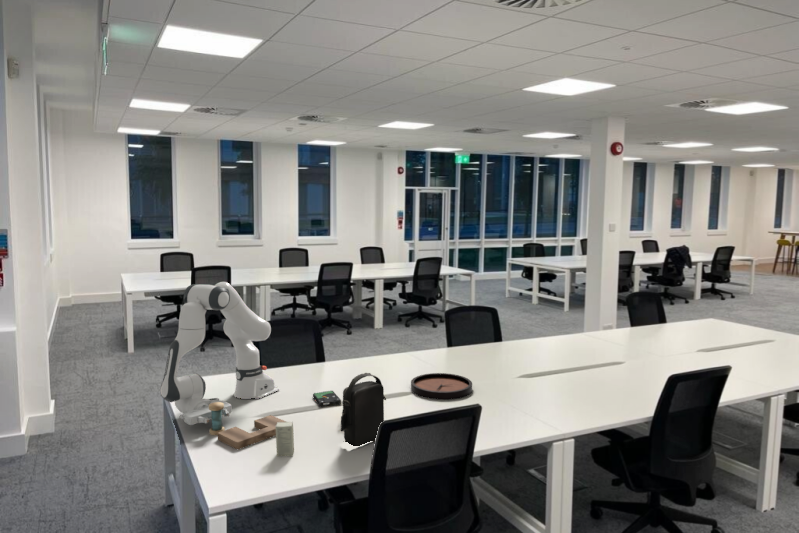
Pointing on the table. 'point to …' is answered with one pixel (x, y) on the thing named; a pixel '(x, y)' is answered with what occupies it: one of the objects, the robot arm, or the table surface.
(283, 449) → the skincare box
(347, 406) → the shoulder bag
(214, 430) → the bobbin
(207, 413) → the robot arm
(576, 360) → the table surface
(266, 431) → the notched board
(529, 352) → the table surface
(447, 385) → the wall clock
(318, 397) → the disk drive
